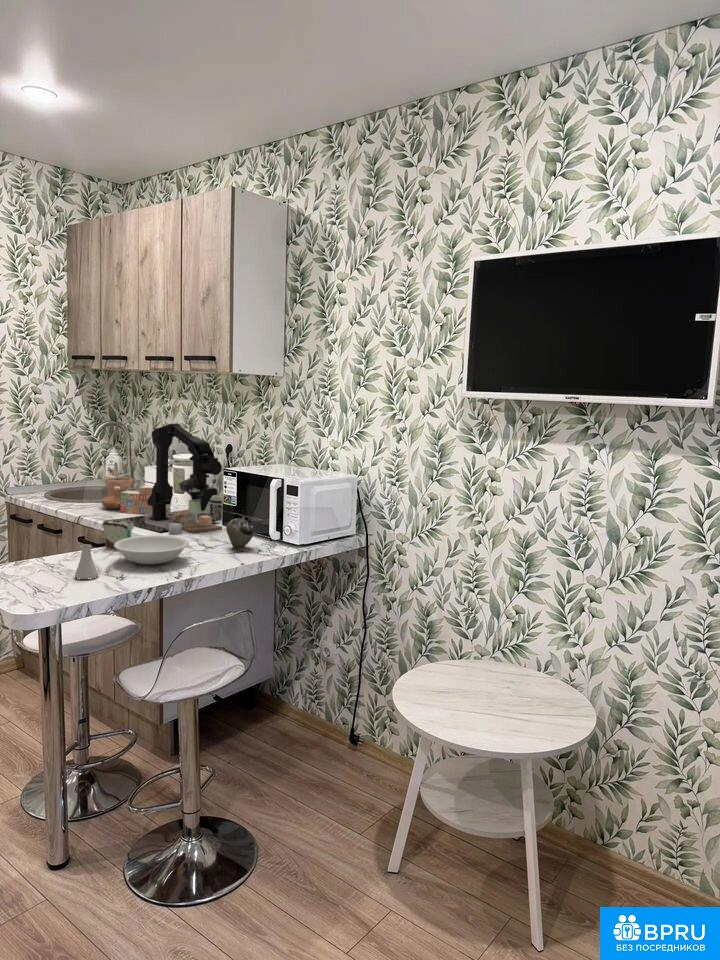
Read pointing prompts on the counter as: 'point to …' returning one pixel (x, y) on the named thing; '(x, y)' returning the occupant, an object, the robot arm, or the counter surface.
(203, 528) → the walnut board
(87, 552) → the flask
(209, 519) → the terracotta block
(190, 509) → the sage green brick
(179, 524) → the grey plastic cylinder
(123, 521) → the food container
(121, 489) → the ceramic jug
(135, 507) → the stack of blocks
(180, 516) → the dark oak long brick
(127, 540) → the soup bowl
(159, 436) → the robot arm
